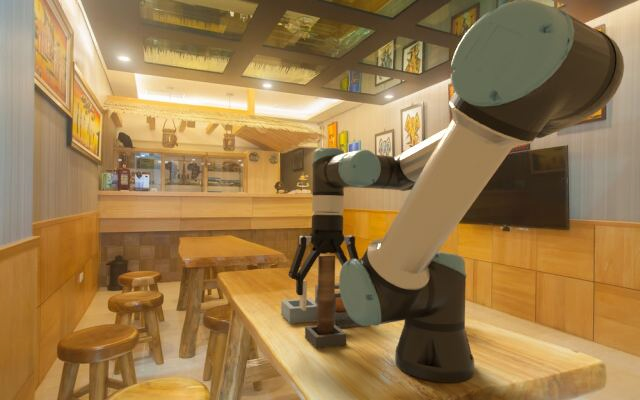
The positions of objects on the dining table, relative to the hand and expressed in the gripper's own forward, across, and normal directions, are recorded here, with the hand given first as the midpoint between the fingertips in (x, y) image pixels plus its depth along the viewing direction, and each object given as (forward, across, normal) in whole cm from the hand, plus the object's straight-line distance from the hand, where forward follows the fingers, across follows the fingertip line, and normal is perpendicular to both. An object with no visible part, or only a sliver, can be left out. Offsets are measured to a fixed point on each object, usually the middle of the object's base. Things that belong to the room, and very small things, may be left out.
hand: (325, 307), depth 84 cm
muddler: (+8, 0, 0) cm, 8 cm away
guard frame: (+8, -10, -13) cm, 18 cm away
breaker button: (+5, -10, -13) cm, 17 cm away
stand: (+8, 0, 0) cm, 8 cm away
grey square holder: (+8, 0, -19) cm, 21 cm away
